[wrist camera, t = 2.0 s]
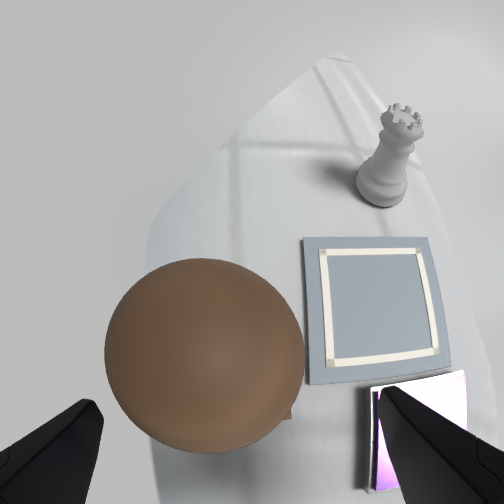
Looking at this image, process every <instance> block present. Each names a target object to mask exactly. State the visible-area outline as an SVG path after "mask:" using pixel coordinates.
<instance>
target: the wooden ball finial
mask: <svg viewBox="0 0 504 504" xmlns="http://www.w3.org/2000/svg"><path fill="white" fill-rule="evenodd" d="M104 350H105V353H104V354H105V366H106V373H107V377H108V381H109V384H110V387H111V389H112V391H113V394H114V396H115V398H116V400H117V401H118V403H119V405H120V407H121V408H122V410H123V411H124V412H125V414H126V415H127V416H128V417H129V419H130V420H131V421H132V422H133V423H134V424H135V425H136V426H137V427H138V428H140V429H141V430H142V431H144V432H145V433H146V434H147V435H149V436H150V437H152V438H154V439H155V440H157V441H159V442H161V443H162V444H165V445H167V446H170V447H172V448H175V449H178V450H182V451H186V452H192V453H202V454H212V453H223V452H229V451H234V450H237V449H240V448H243V447H246V446H248V445H250V444H252V443H254V442H256V441H258V440H259V439H261V438H262V437H264V436H265V435H267V434H268V433H269V432H271V431H272V430H273V429H274V428H275V427H276V426H277V425H278V424H279V423H280V422H281V421H282V420H287V419H291V407H292V405H293V403H294V402H295V400H296V398H297V395H298V393H299V390H300V388H301V384H302V380H303V375H304V367H305V348H304V343H303V337H302V333H301V330H300V327H299V324H298V322H297V320H296V318H295V316H294V314H293V312H292V310H291V308H290V307H289V305H288V304H287V302H286V301H285V299H284V298H283V297H282V296H281V294H280V293H279V292H278V291H277V290H276V289H275V288H274V287H273V286H272V285H271V284H270V283H268V282H267V281H266V280H265V279H263V278H262V277H260V276H259V275H257V274H256V273H254V272H252V271H250V270H248V269H246V268H244V267H242V266H240V265H237V264H234V263H231V262H227V261H222V260H217V259H206V258H198V259H186V260H180V261H176V262H173V263H169V264H167V265H164V266H162V267H159V268H158V269H156V270H154V271H152V272H150V273H149V274H147V275H146V276H144V277H143V278H142V279H140V280H139V281H138V282H137V283H136V284H135V285H134V286H132V287H131V288H130V289H129V291H128V292H127V293H126V294H125V295H124V296H123V298H122V300H121V301H120V302H119V304H118V305H117V307H116V309H115V311H114V313H113V315H112V318H111V320H110V323H109V326H108V330H107V334H106V340H105V349H104Z"/></svg>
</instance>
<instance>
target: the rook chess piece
mask: <svg viewBox="0 0 504 504" xmlns="http://www.w3.org/2000/svg"><path fill="white" fill-rule="evenodd" d="M400 107H401V105H400V104H394V105H393V106H391V105H390V106H389V108H388V111H386V112H384V113H382V115H381V117H380V118H381V123H382V125H383V127H384V130H382V131H380V133H379V138H380V142H379V145H378V147H377V149H376V151H375V153H374V155H373V156H371V157H369V159H368V160H366V161H365V162H363V164H362V165H361V167H360V169H359V170H358V174H357V176H356V186H357V188H358V190H359V192H360V194H361V195H362V196H363V197H364V198H365V199H366V200H367V201H368V202H370V203H372V204H374V205H376V206H381V207H389V206H394V205H397V204H398V203H400V202H401V201H402V199H403V197H404V194H405V191H406V188H407V179H406V171H405V168H406V164H407V159H408V156H409V153H411V152H413V151H414V148H415V146H414V143H413V142H414V141H416V140H419V139H420V138H422V137H423V134H424V132H423V129H422V126H421V125H422V122H423V120H421V115H420V114H419V113H418V112H415V114H414V115H412V114H411V110H412V108H410V107H408V106H405V110H401V109H400Z"/></svg>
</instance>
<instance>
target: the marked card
mask: <svg viewBox="0 0 504 504" xmlns="http://www.w3.org/2000/svg"><path fill="white" fill-rule="evenodd" d="M303 249H304V263H305V279H306V297H307V319H308V349H309V385H318V384H333V383H346V382H356V381H365V380H374V379H382V378H389V377H396V376H402V375H408V374H414V373H420V372H425V371H430V370H435V369H440V368H445V367H449V366H451V356H450V347H449V339H448V332H447V325H446V319H445V313H444V307H443V302H442V297H441V292H440V287H439V282H438V278H437V274H436V269H435V265H434V261H433V257H432V254H431V250H430V246H429V243H428V239H427V237H303Z"/></svg>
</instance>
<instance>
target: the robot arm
mask: <svg viewBox="0 0 504 504" xmlns="http://www.w3.org/2000/svg"><path fill="white" fill-rule="evenodd" d="M377 412H378V416H379V420H380V424H381V428H382V432H383V436H384V440H385V445H386V449H387V452H388V455H389V458H390V461H391V463H392V466H393V469H394V472H395V474H396V477H397V480H398V483H399V486H400V488H401V491H402V494H403V497H404V500H405V503H406V504H504V452H503V451H501V450H499V449H497V448H495V447H494V446H492V445H490V444H488V443H486V442H485V441H483V440H481V439H480V438H477V437H476V436H475V435H473V434H471V433H470V432H468V431H466V430H465V429H463V428H462V427H460V426H458V425H457V424H455V423H454V422H452V421H450V420H449V419H447V418H446V417H444V416H442V415H441V414H439V413H438V412H436V411H434V410H433V409H431V408H430V407H428V406H427V405H425V404H424V403H422V402H420V401H419V400H417V399H416V398H414V397H413V396H411V395H410V394H408V393H407V392H405V391H404V390H402V389H400V388H399V387H397V386H395V385H391V386H387V387H384V388H382V390H381V393H380V397H379V401H378V405H377ZM103 424H104V418H103V415H102V414H101V412H100V410H99V409H98V407H97V405H96V403H95V402H94V401H93V400H89V399H81V400H80V401H78V402H77V403H75V404H74V405H72V406H71V407H69V408H68V409H66V410H65V411H64V412H62V413H60V414H59V415H57V416H56V417H54V418H53V419H51V420H50V421H48V422H47V423H45V424H43V425H42V426H40V427H39V428H37V429H36V430H34V431H33V432H31V433H30V434H28V435H27V436H25V437H23V438H22V439H21V440H19V441H17V442H15V443H14V444H12V445H11V446H9V447H8V448H6V449H4V450H3V451H1V452H0V504H85V501H86V497H87V493H88V489H89V486H90V482H91V478H92V475H93V471H94V468H95V464H96V460H97V456H98V451H99V445H100V440H101V434H102V429H103Z"/></svg>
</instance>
